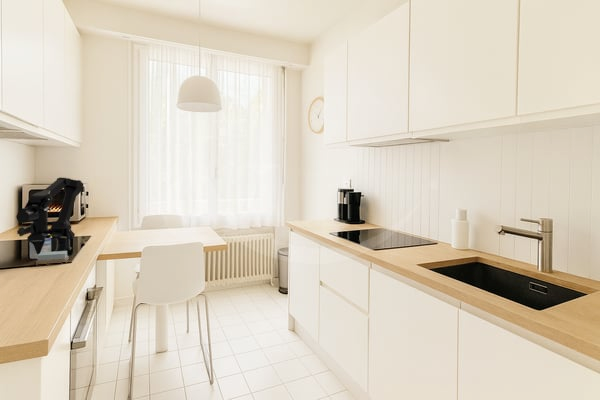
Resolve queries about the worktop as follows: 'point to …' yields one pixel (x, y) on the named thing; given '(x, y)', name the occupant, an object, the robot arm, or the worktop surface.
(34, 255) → the medicine box
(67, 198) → the robot arm
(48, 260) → the tower base
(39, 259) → the tower top
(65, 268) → the worktop surface
